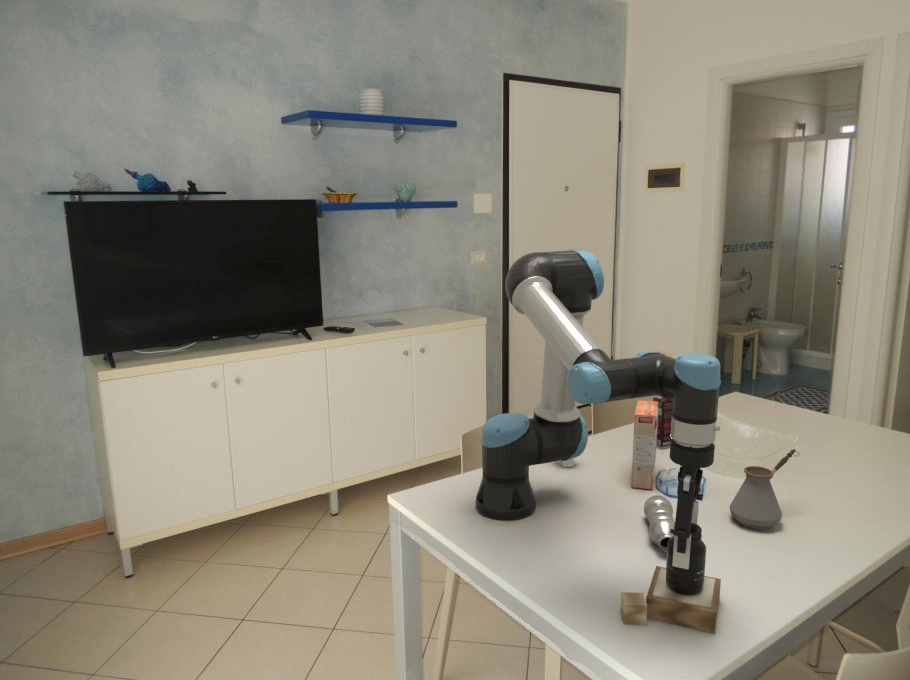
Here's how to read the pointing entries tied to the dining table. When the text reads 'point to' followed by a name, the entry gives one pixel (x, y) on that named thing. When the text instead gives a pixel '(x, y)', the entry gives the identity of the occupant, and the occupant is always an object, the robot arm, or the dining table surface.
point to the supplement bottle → (694, 576)
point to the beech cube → (633, 608)
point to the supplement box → (664, 422)
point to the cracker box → (644, 444)
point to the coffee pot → (758, 498)
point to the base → (684, 603)
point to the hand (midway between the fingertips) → (685, 548)
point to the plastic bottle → (659, 520)
